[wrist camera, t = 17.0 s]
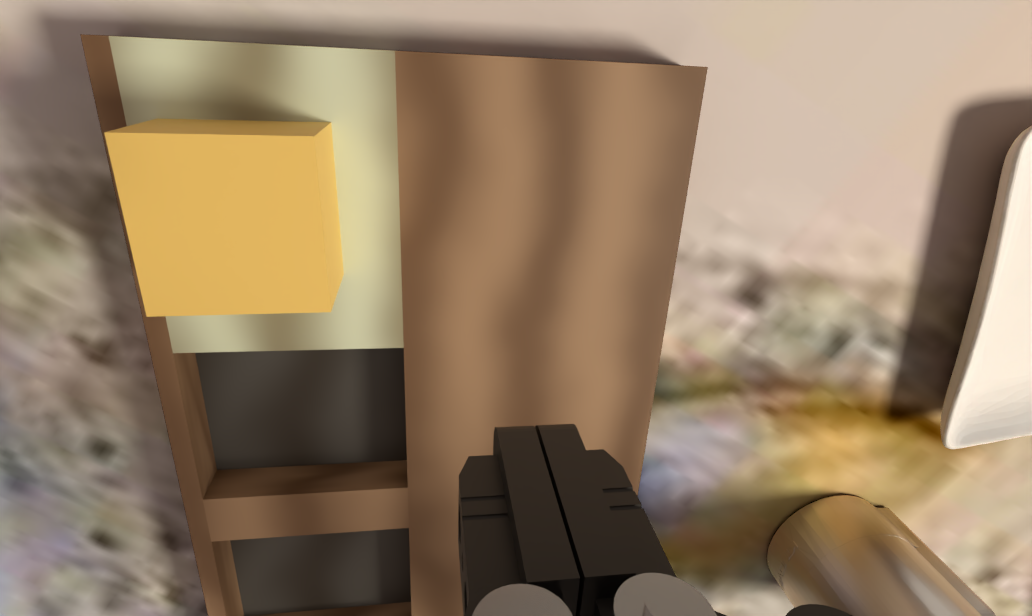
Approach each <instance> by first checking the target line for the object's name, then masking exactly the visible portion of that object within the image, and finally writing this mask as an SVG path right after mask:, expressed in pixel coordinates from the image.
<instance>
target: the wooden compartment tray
mask: <svg viewBox="0 0 1032 616" xmlns="http://www.w3.org/2000/svg"><path fill="white" fill-rule="evenodd" d="M80 35H81V34H80ZM81 40H82V44H83V49H84V53H85V58H86V62H87V67H88V71H89V76H90V81H91V85H92V90H93V94H94V99H95V103H96V108H97V112H98V117H99V121H100V126H101V131H102V135H103V140H104V144H105V149H106V153H107V158H108V162H109V167H110V171H111V176H112V181H113V185H114V190H115V194H116V199H117V203H118V208H119V212H120V217H121V221H122V226H123V231H124V235H125V240H126V244H127V249H128V253H129V258H130V262H131V267H132V271H133V276H134V281H135V285H136V290H137V294H138V299H139V303H140V308H141V312H142V317H143V322H144V326H145V331H146V335H147V340H148V344H149V349H150V353H151V358H152V362H153V367H154V372H155V376H156V381H157V385H158V390H159V394H160V399H161V403H162V408H163V412H164V417H165V422H166V426H167V431H168V435H169V440H170V444H171V449H172V453H173V458H174V462H175V467H176V472H177V476H178V481H179V485H180V490H181V494H182V499H183V503H184V508H185V512H186V517H187V522H188V526H189V531H190V535H191V540H192V544H193V549H194V553H195V558H196V562H197V567H198V572H199V576H200V581H201V585H202V590H203V594H204V599H205V603H206V608H207V612H208V616H463V603H462V588H461V575H460V561H459V547H458V500H459V474H460V472H461V470H462V468H463V466H464V464H465V463H466V461H467V459H468V457H469V456H482V455H493V439H494V429H495V427H512V426H534V427H535V426H536V425H555V424H575V425H576V427H577V429H578V432H579V434H580V437H581V439H582V441H583V444H584V446H585V449H586V450H599V449H604V450H605V451H606V452H607V453H608V454H610V455H611V456H612V457H613V458H614V459H615V460H616V461H617V462H618V463H620V464H621V465H622V466H623V468H624V470H625V472H626V474H627V476H628V478H629V480H630V482H631V484H632V486H633V491H635V493H636V495H638V489H639V483H640V477H641V471H642V465H643V459H644V452H645V446H646V440H647V434H648V428H649V422H650V416H651V410H652V404H653V398H654V391H655V385H656V379H657V373H658V367H659V361H660V355H661V349H662V343H663V336H664V330H665V324H666V318H667V312H668V306H669V300H670V294H671V288H672V282H673V275H674V269H675V263H676V257H677V251H678V245H679V239H680V233H681V227H682V221H683V214H684V208H685V202H686V196H687V190H688V184H689V178H690V172H691V166H692V159H693V153H694V147H695V141H696V135H697V129H698V123H699V117H700V111H701V105H702V98H703V92H704V86H705V80H706V74H707V68H708V67H697V66H681V65H662V64H643V63H624V62H605V61H586V60H567V59H547V58H528V57H509V56H490V55H471V54H452V53H433V52H414V51H394V50H375V49H356V48H337V47H318V46H299V45H280V44H260V43H241V42H222V41H203V40H184V39H165V38H146V37H127V36H105V35H81ZM157 118H158V119H203V120H249V121H294V122H331V125H332V137H333V150H334V162H335V174H336V186H337V198H338V210H339V222H340V234H341V246H342V258H343V270H344V275H343V278H342V281H341V284H340V287H339V290H338V293H337V296H336V299H335V302H334V305H333V308H332V311H331V312H321V313H280V314H239V315H197V316H156V317H147V316H146V312H145V308H144V303H143V299H142V295H141V290H140V286H139V282H138V277H137V273H136V268H135V264H134V260H133V255H132V251H131V247H130V242H129V238H128V234H127V229H126V225H125V221H124V216H123V212H122V208H121V203H120V199H119V195H118V190H117V186H116V182H115V177H114V173H113V169H112V164H111V160H110V156H109V151H108V147H107V143H106V138H105V134H104V132H108V131H111V130H115V129H119V128H123V127H126V126H130V125H134V124H138V123H141V122H145V121H149V120H153V119H157Z"/></svg>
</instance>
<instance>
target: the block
mask: <svg viewBox="0 0 1032 616" xmlns="http://www.w3.org/2000/svg"><path fill="white" fill-rule="evenodd" d="M104 134H105V138H106V143H107V147H108V151H109V156H110V160H111V164H112V169H113V173H114V177H115V182H116V186H117V190H118V195H119V199H120V203H121V208H122V212H123V216H124V221H125V225H126V229H127V234H128V238H129V242H130V247H131V251H132V255H133V260H134V264H135V268H136V273H137V277H138V282H139V286H140V290H141V295H142V299H143V303H144V308H145V312H146V316H147V317H156V316H197V315H239V314H280V313H321V312H331V311H332V308H333V305H334V302H335V299H336V296H337V293H338V290H339V287H340V284H341V281H342V278H343V275H344V270H343V258H342V246H341V234H340V222H339V210H338V198H337V186H336V174H335V162H334V150H333V137H332V125H331V122H294V121H249V120H203V119H158V118H157V119H153V120H149V121H145V122H141V123H138V124H134V125H130V126H126V127H123V128H119V129H115V130H111V131H108V132H104Z"/></svg>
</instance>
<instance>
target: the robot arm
mask: <svg viewBox="0 0 1032 616" xmlns="http://www.w3.org/2000/svg"><path fill="white" fill-rule="evenodd" d="M458 547H459V561H460V575H461V588H462V603H463V616H726V615H723V614H721V613H718V612H716V611H714V610H713V608H712V606H711V605H710V603H709V602H708V601H707V599H706V598H705V597H704V596H703V595H702V594H701V593H700V592H699V591H698V590H697V589H695V588H694V587H693V586H691V585H690V584H688V583H687V582H685V581H683V580H681V579H679V578H677V577H676V575H675V574H674V572H673V569H672V567H671V565H670V563H669V561H668V559H667V557H666V555H665V553H664V551H663V549H662V547H661V545H660V542H659V540H658V538H657V536H656V534H655V532H654V530H653V528H652V526H651V524H650V522H649V520H648V518H647V515H646V513H645V511H644V509H642V508H641V503H640V501H639V499H638V497H637V495H636V493H635V491H633V486H632V484H631V482H630V480H629V478H628V476H627V474H626V472H625V470H624V468H623V466H622V465H621V464H620V463H618V462H617V461H616V460H615V459H614V458H613V457H612V456H611V455H610V454H608V453H607V452H606V451H605V450H604V449H599V450H586V449H585V446H584V444H583V441H582V439H581V437H580V434H579V432H578V429H577V427H576V425H575V424H555V425H536V426H535V427H534V426H512V427H495V429H494V439H493V455H482V456H469V457H468V459H467V461H466V463H465V464H464V466H463V468H462V470H461V472H460V474H459V500H458ZM767 561H768V567H769V569H770V571H771V573H772V575H773V576H774V578H775V579H776V581H777V582H778V584H779V585H780V587H781V588H782V590H783V591H784V593H785V594H786V596H787V597H788V599H789V600H790V602H791V603H792V605H793V606H794V608H793V609H792V610H790V611H789V612H788V613H787V615H786V616H995V613H994V612H993V611H992V610H991V609H990V608H989V607H988V606H987V605H986V604H985V603H984V602H983V601H982V600H981V599H980V598H979V597H978V596H977V595H976V594H975V593H974V592H973V591H972V590H971V589H970V588H969V587H968V586H967V585H966V584H965V583H964V582H963V581H962V580H961V579H960V578H959V577H958V576H957V575H956V574H955V573H954V572H953V571H952V570H951V569H950V568H949V567H948V566H947V565H946V564H945V563H944V562H943V561H942V560H941V559H940V558H939V557H937V556H936V555H935V554H934V553H933V552H932V551H931V550H930V549H929V548H928V547H927V546H926V545H925V544H924V543H923V542H922V541H921V540H920V539H919V538H918V537H917V536H916V535H915V534H914V533H913V532H912V531H911V530H910V529H909V528H908V527H907V526H906V525H905V524H904V523H903V522H902V521H901V520H900V519H899V518H898V517H897V516H896V515H895V514H894V513H893V512H892V511H891V510H890V509H889V508H876V507H875V506H873V505H872V504H871V503H869V502H868V501H867V500H865V499H862V498H859V497H856V496H849V495H841V496H832V497H828V498H823V499H820V500H818V501H815V502H813V503H810V504H808V505H807V506H805V507H803V508H801V509H800V510H798V511H797V512H796V513H794V514H793V515H792V516H790V517H789V518H788V519H787V520H786V521H785V522H784V523H783V524H782V525H781V526H780V527H779V529H778V530H777V532H776V533H775V535H774V536H773V538H772V540H771V543H770V545H769V548H768V554H767Z"/></svg>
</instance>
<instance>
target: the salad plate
mask: <svg viewBox="0 0 1032 616" xmlns="http://www.w3.org/2000/svg"><path fill="white" fill-rule="evenodd" d="M1029 435H1032V126H1030V127H1028V128H1027V129H1025V130H1024V131H1023V132H1021V133H1020V135H1019V136H1018V137H1017V138H1016V139H1015V141H1014V142H1013V144H1012V145H1011V147H1010V149H1009V150H1008V153H1007V155H1006V158H1005V161H1004V164H1003V168H1002V172H1001V177H1000V181H999V186H998V191H997V197H996V201H995V206H994V211H993V215H992V220H991V225H990V229H989V234H988V238H987V242H986V246H985V251H984V255H983V259H982V263H981V268H980V272H979V276H978V280H977V284H976V289H975V293H974V296H973V300H972V304H971V308H970V312H969V315H968V319H967V323H966V327H965V330H964V334H963V338H962V341H961V345H960V349H959V352H958V356H957V359H956V363H955V366H954V369H953V373H952V376H951V379H950V382H949V386H948V389H947V392H946V396H945V400H944V404H943V409H942V415H941V437H942V442H943V445H944V446H945V447H947V448H949V449H958V448H964V447H970V446H975V445H980V444H987V443H992V442H997V441H1002V440H1007V439H1013V438H1018V437H1023V436H1029Z"/></svg>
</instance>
